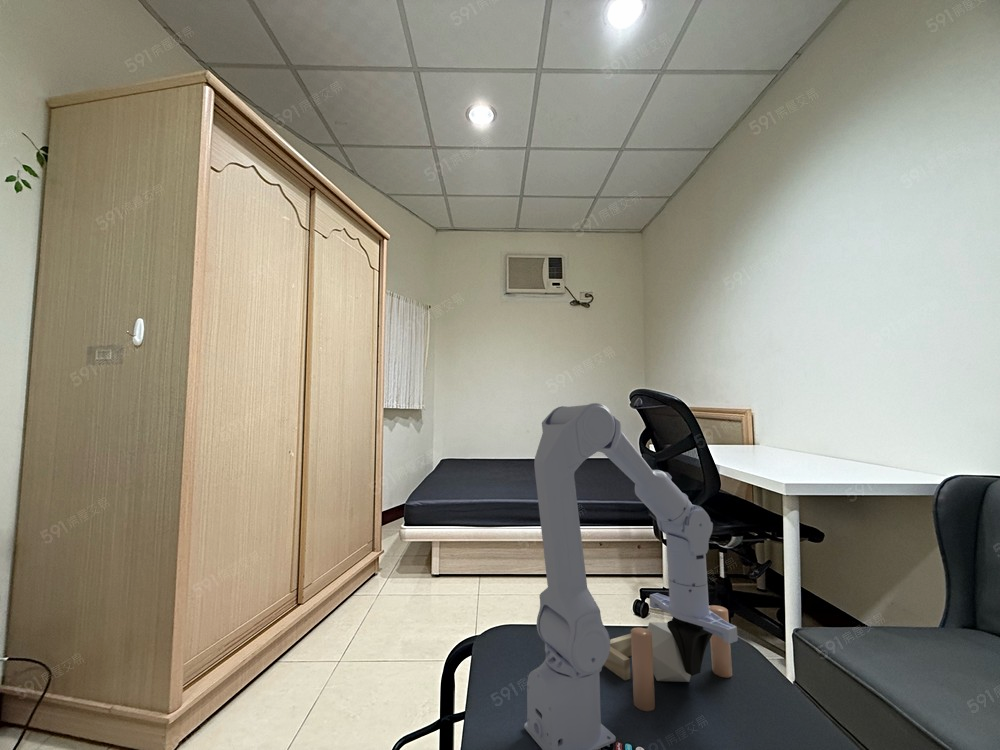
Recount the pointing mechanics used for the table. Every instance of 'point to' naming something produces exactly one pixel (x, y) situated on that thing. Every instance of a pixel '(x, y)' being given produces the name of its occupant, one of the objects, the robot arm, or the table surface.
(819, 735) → the table surface
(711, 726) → the table surface
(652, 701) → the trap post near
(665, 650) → the die
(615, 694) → the table surface
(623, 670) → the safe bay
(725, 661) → the trap post far
